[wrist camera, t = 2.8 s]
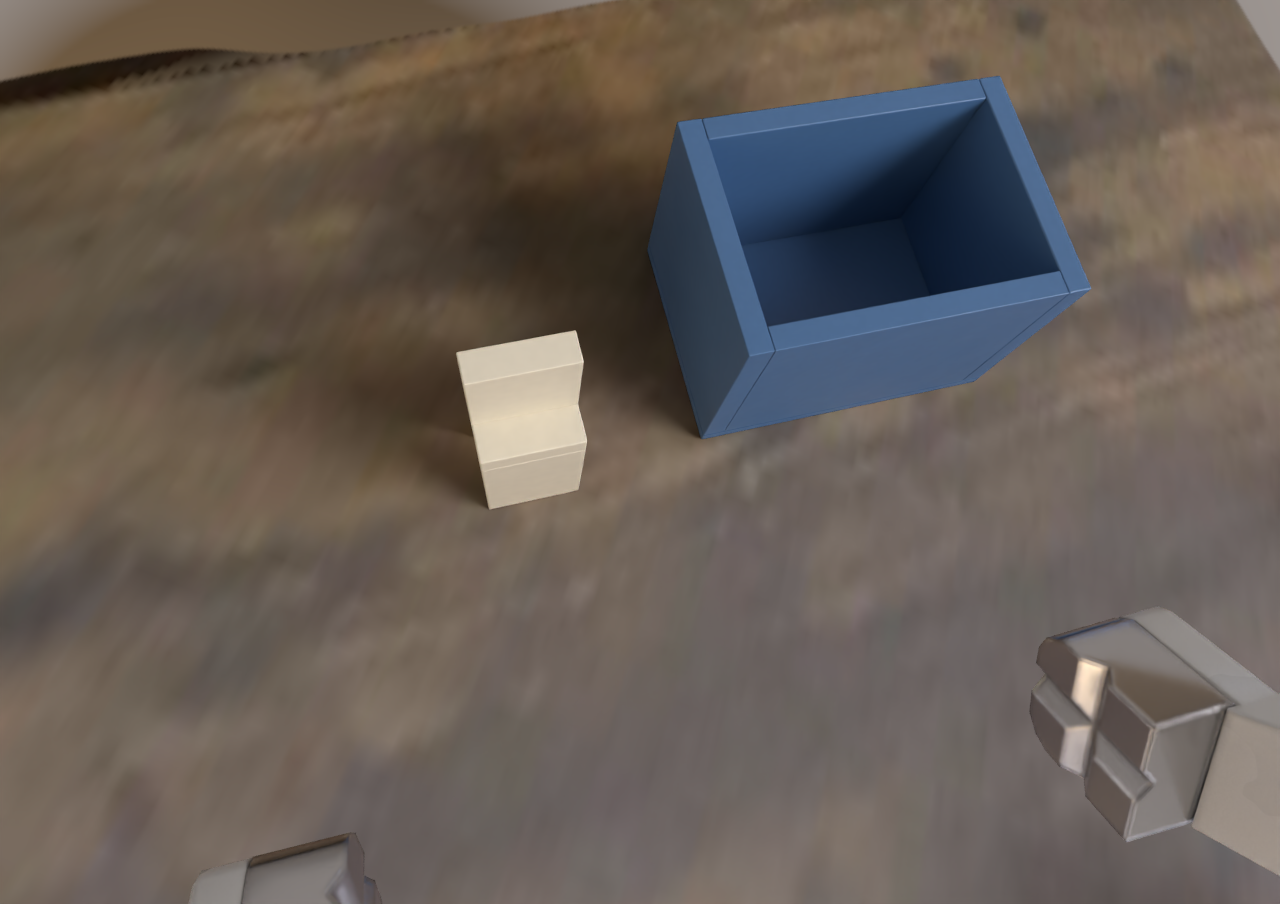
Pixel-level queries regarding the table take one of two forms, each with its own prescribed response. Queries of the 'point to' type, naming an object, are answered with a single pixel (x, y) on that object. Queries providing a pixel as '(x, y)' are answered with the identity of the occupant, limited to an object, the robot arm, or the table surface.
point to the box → (854, 251)
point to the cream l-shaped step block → (526, 416)
